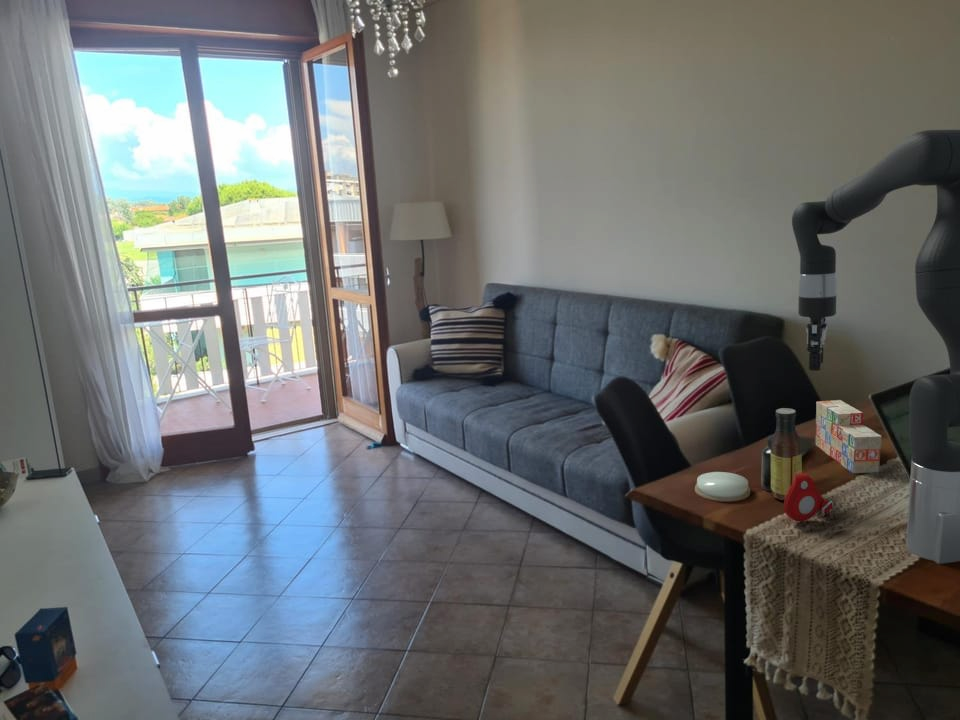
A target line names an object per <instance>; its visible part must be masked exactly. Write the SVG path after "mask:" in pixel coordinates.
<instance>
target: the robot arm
mask: <svg viewBox="0 0 960 720" xmlns="http://www.w3.org/2000/svg"><path fill="white" fill-rule="evenodd" d="M917 185H918V186H922V187H923V186H936V187H935V188H936V197H937V198H936V215H935V220H934V222H933V225H932V227H931V229H930V231H929V233H928V235H927V237H926V238H925V240H924V242H923V243H922V246H921V248H920V250H919V251H918V254H917V257H916V261H915V265H914V266H915V267H914V268H915V269H914V273H915V275H914V276H915V289H916V290H915V292H916V293H915V294H916V295H915V296H916V300H917V303H918V306H919V308H920V310H921V311H922V313H923V314H924V315H925V317H926V318H927V320H928V321H929V322H930V324H931V325H932V326H933V328H934V329H935V331H936V332H937V333H938V334H939V336H940V337H941V339H942V340H943V343H944V345H945V347H946V350H947V354H948V360H949V371H950V373H949V374H948V373H947V374H946V373H945V374H936V375H926V376H921V377H919V378H917V379H916V380H915V381H914V382H913V384H912V386H911V388H910V393H909V400H908V407H909V408H908V409H909V411H908V415H909V416H908V417H909V418H908V419H909V421H908V422H909V424H908V425H909V427H908V428H909V429H908V437H909V439H908V440H909V445H910V449H911V466H910V478H909V490H908V491H909V493H908V494H909V495H908V509H907V510H908V511H907V526H906V544H905V547H906V549H907V550H908V551H909V552H910V553H911V554H913V555H914V556H916V557H919V558H921V559H924V560H928V561H932V562H935V564H938V565H942V564H949V563H955V562H956V563H957V562H960V443H959V442H956V441H952V440H949V434H948V432H949V431H948V428H956V427H960V129H929V130H928V129H926V130H922V131H919V132H915V133H913V134H911V136H908V137H907V138H906V139H905V140H903V141H901V142H900V143H899V144H898V145H897V146H895V148H893V150H891V151H890V152H889V153H888V154H887V155H885V157H882V159H880V160H879V161H878V162H877V163H876V164H875V165H873V166H872V167H871V168H869V169H868V170H867V171H865V172H864V173H863V174H861V175H860V176H859V175H858V176H857V177H856V178H854V179H853V180H851V181H849V182H847V183H845V184H844V185H842V186H840V187H839V188H837V189H835V190H833V191H832V192H831V193H829V195H828V196H827V197H826V199H825V200H821V201H806V202H802V203H800V204H798V205H797V207H795V208H794V211H793V213H792V217H791V226H792V231H793V234H794V238H795V240H796V244H797V248H798V253H799V256H800V257H799V258H800V259H799V261H800V262H799V263H800V264H799V280H798V309H797V310H798V316H800V317H803V318H809V319H810V321H809V322H808V323H807V324H806V326H805V327H806V328H805V331H806V344H807V349H806V350H807V353H808V358H809V360H808V369H809V371H816V372H818V371H820V370H821V364H823V362H824V347H825V345H826V343H825V342H826V340H827V331H828V323H826V319H827V318H828V317H829V318H830V317H831V318H832V317H834V316H835V315H836V314H837V284H838V282H837V277H836V274H837V273H836V271H837V270H836V269H837V266H836V265H837V262H836V260H837V259H836V258H837V257H836V256H837V254H836V253H837V252H836V249H835V248H834V246H831V245H826V244H822V242H820V240H819V237H818V235H828V234H829V235H830V234H834V233H837V232H839V231H842V230H843V229H844V228H845V227H847V226H848V225H849V224H850V223H851V222H852V221H853V220H855V219H857V218H859V217H861V216H863V215H866V214H867V213H869V212H871V211H873V210H874V209H876V208H877V207H878V206H880V205H881V203H882V202H883V201H884V200H885V198H886V195H888V194H889V193H891V192H893V191H896V190H900V189H903V188H906V187H911V186H917Z"/></svg>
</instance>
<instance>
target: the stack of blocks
mask: <svg viewBox="0 0 960 720" xmlns="http://www.w3.org/2000/svg"><path fill="white" fill-rule="evenodd" d="M815 404H816V408H815V409H816V412H815V413H816V414H815V446H816V447H818V448H819V449H820V450H821V451H822V452H823V453H825V454H826V455H828V456H830V457H831V458H832V459H833V460H834V461H836V462H838V464H839V465H841V466H843V467H844V468H845V469H846V470H848V471H849V472H851V473H852V474H865V473H879V472H880V461H881V448H882V439H883V438H882V435H880V434H879V433H877V432H875V430H872V429H871V428H869V427H867V426H866V425H863V423H864V422H863V421H864V420H863V419H864V413H863V412H862V411H860V410H859V409H857V408H855V407H853V406H851V405H850V404H848V403H847V402H844V401H843V400H841V399H836V400H821V401H820V400H819V401H816V403H815Z"/></svg>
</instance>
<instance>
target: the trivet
mask: <svg viewBox="0 0 960 720" xmlns="http://www.w3.org/2000/svg"><path fill="white" fill-rule="evenodd" d="M694 492H695V494H696V495H698V496H700V497H702V498H703V499H706V500H710V501H714V502H722V503H723V502H725V503H726V502H727V503H729V502H730V503H731V502H739V501H743V500H745V499H747V498H748V497H750V496H751V488H750V487H749V481H748V479H747V478H745V477H744V476H742V475H740V474H738V473H737V474H736V473H734V472H732V473H731V472H726V471H725V472H724V471H712V472H706V473H702V474H700V475H698V477H697V479H696V483H695V486H694Z"/></svg>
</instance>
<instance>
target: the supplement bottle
mask: <svg viewBox="0 0 960 720" xmlns="http://www.w3.org/2000/svg"><path fill="white" fill-rule="evenodd" d="M773 436H774V434H771V435H768V436H767V438H766V447H764V449H762V452H761V478H760V479H761V480H760V481H761V484H760V485H761V488H762V489H764V490H765V491H767V492H769V493H772V489H771V441H772V438H773Z"/></svg>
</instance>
